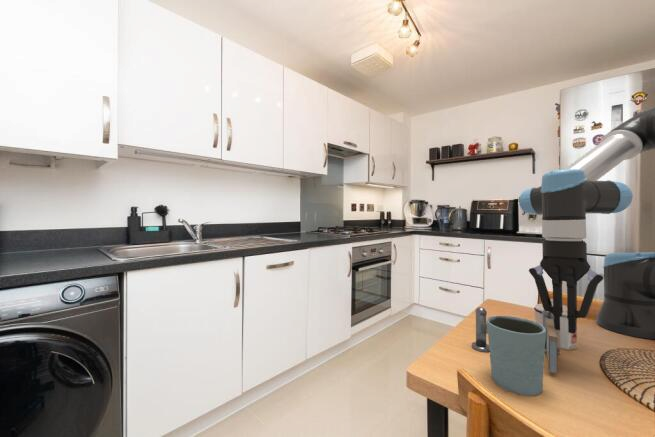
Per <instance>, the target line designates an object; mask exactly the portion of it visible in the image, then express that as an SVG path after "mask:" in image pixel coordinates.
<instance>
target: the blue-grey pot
mask: <svg viewBox="0 0 655 437" xmlns="http://www.w3.org/2000/svg"><path fill="white" fill-rule="evenodd" d="M486 323H487V329H488V334H487V337H488V341H487V342H488V345H489V350H490V352H489V361H490V368H491V369H490V371H491V380H492V381H493V382H494V383H495V384H496V385H497V386H499V387H500V388H502V389H504V390H506V391H508V392H511V393H513V394H517V395H521V396H527V397H536V396H539V395H541V394H542V393H543V388H544V384H543V382H544V380H543V379H544V370H545V369H544V368H545V367H544V362H545V354H546V353H545V340H546V329H545V328H544V327H543V326H542V325H541V324H538V323H536V322H535V321H533V320H530V319H527V318H523V317H522V318H521V317H516V316H511V315H510V316H509V315H494V316H490V317H487V318H486Z"/></svg>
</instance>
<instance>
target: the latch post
mask: <svg viewBox="0 0 655 437" xmlns="http://www.w3.org/2000/svg"><path fill="white" fill-rule="evenodd" d="M474 312H475V341H474V342H471V348H472V349H474V350H475V351H478V352H480V353H490V350H489V343H487V335H488V329H487V315H488V313H487V310H486V308H484V307H482V306H478V307H477V308H476V309H475V311H474Z"/></svg>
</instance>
